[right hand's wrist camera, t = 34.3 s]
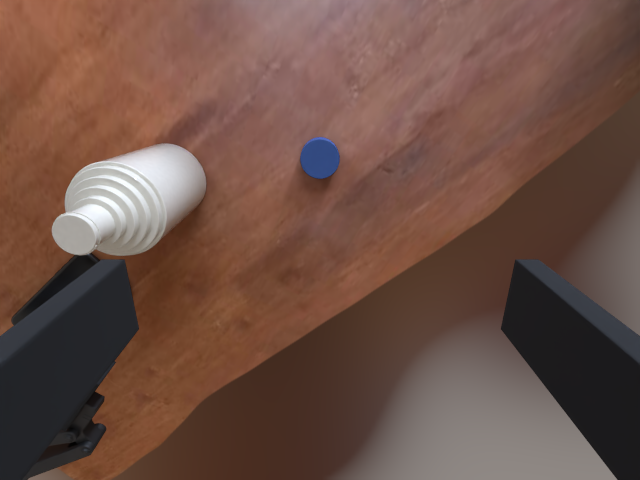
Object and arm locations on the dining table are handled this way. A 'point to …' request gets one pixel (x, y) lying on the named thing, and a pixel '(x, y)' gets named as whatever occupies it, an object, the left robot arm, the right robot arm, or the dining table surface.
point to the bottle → (129, 201)
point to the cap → (319, 158)
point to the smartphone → (57, 283)
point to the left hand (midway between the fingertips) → (24, 328)
